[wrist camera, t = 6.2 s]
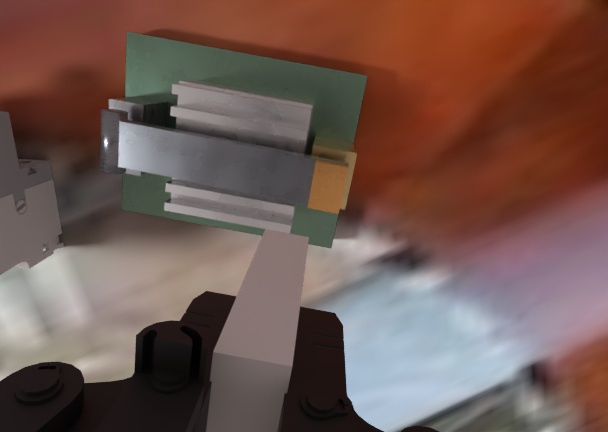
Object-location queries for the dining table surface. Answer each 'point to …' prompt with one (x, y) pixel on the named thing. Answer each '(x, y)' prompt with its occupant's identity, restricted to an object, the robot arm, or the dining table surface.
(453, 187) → the dining table surface
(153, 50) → the circuit board
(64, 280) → the dining table surface
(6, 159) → the circuit breaker
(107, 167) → the silver elongated bar
